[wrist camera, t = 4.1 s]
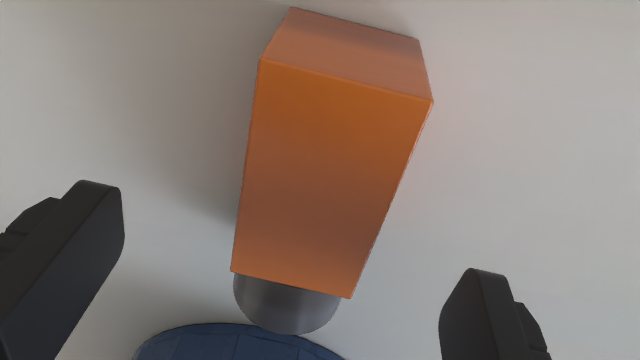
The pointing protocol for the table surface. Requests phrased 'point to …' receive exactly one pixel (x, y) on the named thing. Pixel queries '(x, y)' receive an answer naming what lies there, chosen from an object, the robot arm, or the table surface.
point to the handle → (322, 164)
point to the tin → (229, 345)
